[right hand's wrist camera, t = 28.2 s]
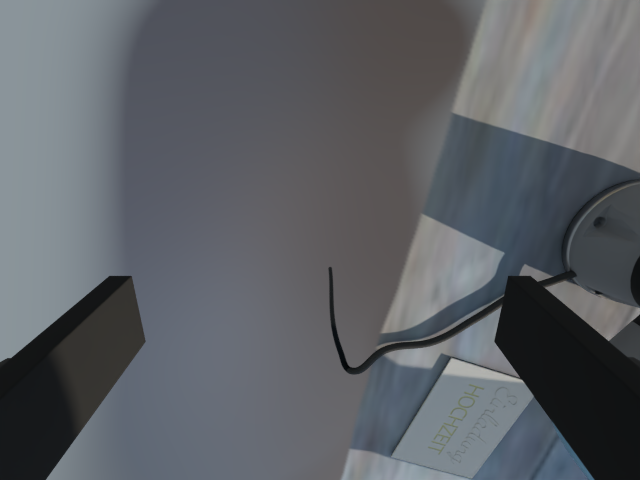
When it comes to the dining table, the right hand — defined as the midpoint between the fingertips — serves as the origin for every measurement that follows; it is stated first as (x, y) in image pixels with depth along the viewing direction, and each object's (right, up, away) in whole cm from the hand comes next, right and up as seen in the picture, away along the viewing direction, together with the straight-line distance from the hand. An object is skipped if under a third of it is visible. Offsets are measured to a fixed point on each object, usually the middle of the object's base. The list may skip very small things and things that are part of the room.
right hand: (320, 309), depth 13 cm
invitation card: (+22, -26, +44) cm, 56 cm away
